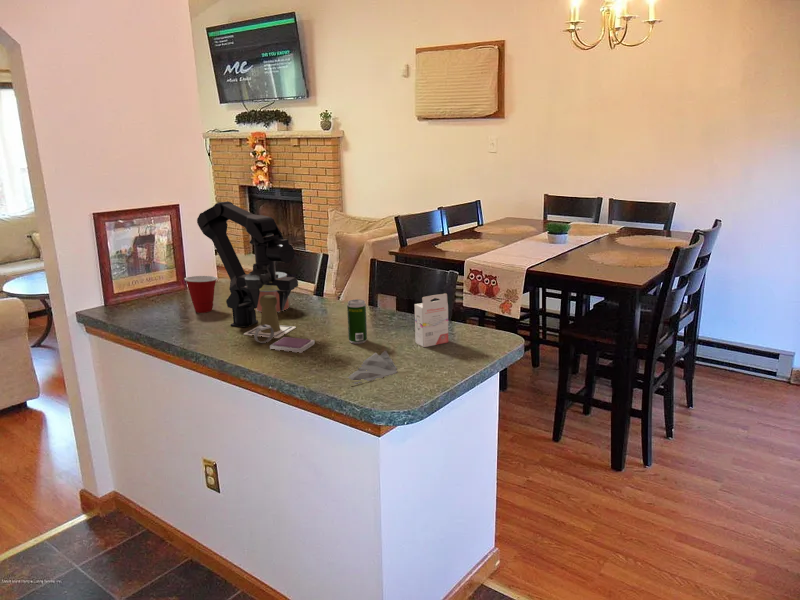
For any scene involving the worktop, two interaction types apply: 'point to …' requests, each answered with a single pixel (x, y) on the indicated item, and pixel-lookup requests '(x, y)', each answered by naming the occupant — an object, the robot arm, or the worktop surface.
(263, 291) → the canned food
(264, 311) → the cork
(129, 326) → the worktop surface
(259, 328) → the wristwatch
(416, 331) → the ink cartridge box
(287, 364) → the worktop surface
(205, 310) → the plastic cup
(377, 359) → the cloth
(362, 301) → the green drink can
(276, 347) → the ink pad
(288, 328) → the marked card
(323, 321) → the worktop surface
